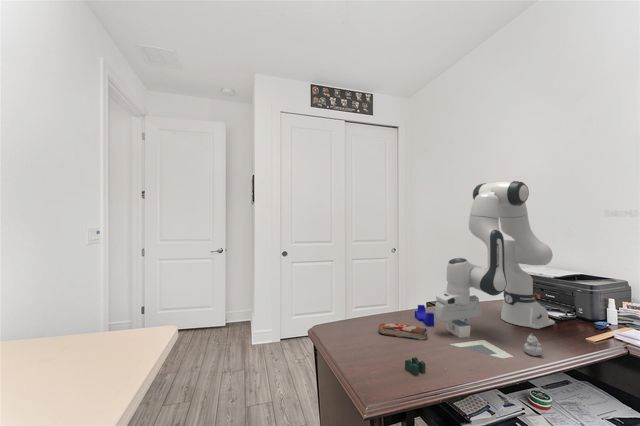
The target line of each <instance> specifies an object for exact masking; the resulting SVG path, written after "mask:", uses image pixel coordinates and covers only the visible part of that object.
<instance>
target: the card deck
mask: <svg viewBox="0 0 640 426" xmlns="http://www.w3.org/2000/svg"><path fill="white" fill-rule="evenodd" d="M452 325H453V326H454V330H450V329H449V325H448V323H447V322H446V331H447V332H449V333H451V334H452V335H454V336H456V337H458V338H460V339H461V338H471V325H470V324H469V323H468V324H467V323H465V322H464V320H463V321H462V319H460V320H452Z"/></svg>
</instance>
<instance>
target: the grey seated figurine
mask: <svg viewBox="0 0 640 426" xmlns="http://www.w3.org/2000/svg"><path fill="white" fill-rule="evenodd" d="M523 349H524V352H525V353H526V354H527V355H529V356H532V357H533V356H534V357H538V356H542V355H543V348H542V344H541V343H540V342H539V340H538V338H537V336H535V335H533V333H530V334H529V335H528V336H527V339H526V342H525V343H524V344H523Z"/></svg>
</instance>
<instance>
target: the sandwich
mask: <svg viewBox="0 0 640 426" xmlns="http://www.w3.org/2000/svg"><path fill="white" fill-rule="evenodd" d="M378 333H379V334H382V335H386V336H389V337H390V336H391V337H399V338H407V339H414V340H420V341H422V340H423V341H424V340H425V341H426V340H427V339H428V336H429V333H428V329H427V328H426V327H419V326H415V325H410V324H409V325H408V324H403V323H380V324H379V325H378Z"/></svg>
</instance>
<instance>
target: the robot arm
mask: <svg viewBox="0 0 640 426" xmlns="http://www.w3.org/2000/svg"><path fill="white" fill-rule="evenodd" d="M529 195H530V191H529V187H528V186H527V184H526V183H525V182H523V181H517V180H516V181H515V180H513V181H509V180H508V181H506V180H505V181H502V180H501V181H497V182H496V181H495V182H488V183H485V182H484V183H480V184H477V185H476V187H475V188H474V189H473V191H472V199H473V202H472V205H471V208H470V212H469V213H470V214H469V220H468V230H469V232H470V233H471V234H472V235H473V236H474V237H475V238H476V239H477V238H478V239H479V240H480V241H482V242H483V243H484V245H485V246H486V248H487V267H482V266H478V265H477V264H473V263H471V262H470V261H468V260H467V259H466V258H462V257H459V258H458V257H457V258H452V259H450V260H448V262H447V265H446V282H447V285H446V290H445V291H443V292H441V293H438V294H437V295H436V296H435V299H436V302H435V305H434V307H435V308H434V318H436V319H437V320H438V321H440V322H446V324H447V323H448V325H449V329H450V330H454V326H453V325H452V320H463V322H465V323H467V324H468V325H469V323H470V321H471V319H478V318H480V317H481V306H480V300H479V299H480V298H479V297H478V296H477V295H470V293H471V292H470V289H471V288H473V289H475V290H479V291H481V292H483V293H484V294H485V293H486V294H488V295H490V296H493V297H495V296H498V295H500V294H503V300H502V310H501V312H500V318H501V320H503V321H504V322H507V323H508V324H509V323H510V324H512V325H515V326H516V325H517V326H520V327H527V328H531V329H542V328H545V327H549V326H552V325H555V324H556V323H555V322H556V321H555V320H553V319H551V318H549V313H548V310H547V308H546V307H544V306H543V305H541V304H540V303H539V302H538V301H537V299H540V298H541V295H540V294H539V293H538V294H537V293H533V291H534V290H533V287H534V283H533V282H534V279H533V277H532V275H530V273H528V272H526V271H525V270H523V269H522V268H521V266H520V265H526V266H527V265H528V266H546V265H548V264H550V263H551V261H552V260H553V258H554V257H553V251H552V248H551V247H550V246H549V245H548V244H546V243H544V242H543V241H541V240H540V239H539V238H538V237H537V236H536V235H535V234H534V232H533V231H532V228H531V225H530V221H529V216H528V209H527V203H526V201H527V200H528V198H529ZM499 222H500V226H499ZM500 229H501V231H502V232H503V233H502V232H501V231H500ZM503 234H504V235H507V236H509V237H511V238H512V239H513V240H511V239H504V235H503Z"/></svg>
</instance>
